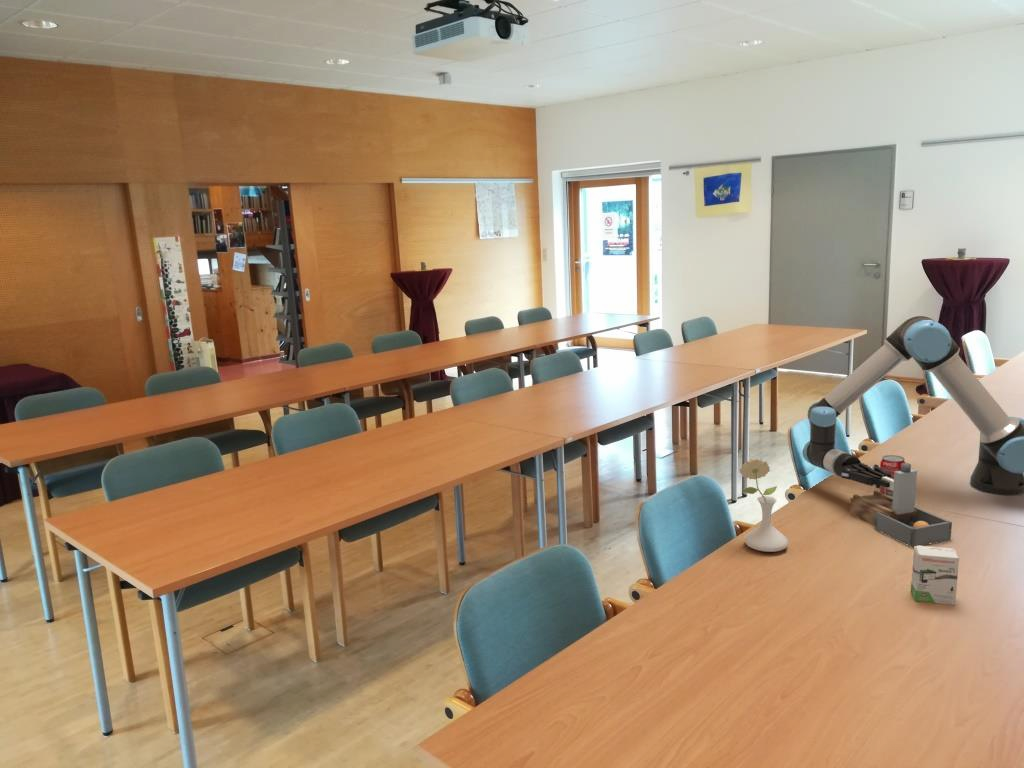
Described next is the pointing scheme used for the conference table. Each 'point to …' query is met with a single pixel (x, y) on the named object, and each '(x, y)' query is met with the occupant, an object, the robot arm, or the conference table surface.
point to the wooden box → (874, 507)
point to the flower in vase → (765, 534)
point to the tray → (915, 536)
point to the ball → (920, 524)
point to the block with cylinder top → (904, 490)
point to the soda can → (890, 469)
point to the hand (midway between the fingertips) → (900, 488)
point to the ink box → (934, 575)
